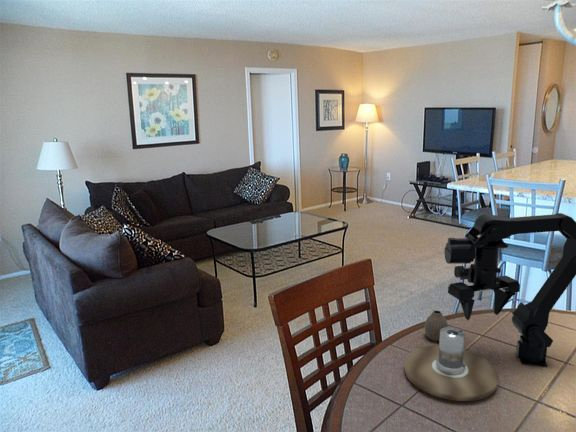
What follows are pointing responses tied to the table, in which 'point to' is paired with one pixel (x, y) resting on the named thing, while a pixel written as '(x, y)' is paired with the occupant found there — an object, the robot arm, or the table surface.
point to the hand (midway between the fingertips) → (481, 316)
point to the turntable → (463, 387)
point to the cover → (451, 351)
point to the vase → (435, 325)
